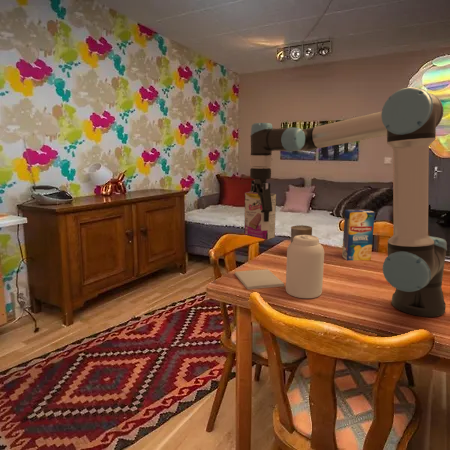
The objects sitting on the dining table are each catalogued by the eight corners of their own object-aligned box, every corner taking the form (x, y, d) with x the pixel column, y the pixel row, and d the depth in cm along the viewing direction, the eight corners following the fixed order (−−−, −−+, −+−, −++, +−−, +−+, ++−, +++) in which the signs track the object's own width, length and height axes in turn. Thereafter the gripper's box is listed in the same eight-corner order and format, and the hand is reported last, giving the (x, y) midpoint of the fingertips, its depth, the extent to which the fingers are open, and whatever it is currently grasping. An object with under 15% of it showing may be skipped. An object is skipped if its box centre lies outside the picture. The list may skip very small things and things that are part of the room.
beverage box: (371, 260, 167) (375, 212, 162) (346, 260, 166) (350, 212, 162) (365, 256, 173) (368, 209, 169) (341, 256, 173) (344, 209, 169)
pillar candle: (314, 254, 175) (315, 223, 172) (306, 259, 167) (308, 227, 164) (294, 252, 180) (295, 221, 178) (286, 256, 172) (287, 225, 169)
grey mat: (284, 286, 135) (284, 283, 135) (247, 289, 132) (247, 286, 132) (267, 271, 151) (267, 269, 151) (234, 274, 148) (234, 271, 148)
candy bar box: (243, 235, 140) (244, 192, 137) (251, 233, 144) (252, 191, 140) (267, 240, 133) (268, 194, 129) (275, 237, 136) (276, 193, 133)
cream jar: (283, 285, 136) (285, 232, 132) (317, 286, 135) (320, 232, 131) (287, 299, 123) (290, 241, 119) (325, 299, 123) (329, 241, 119)
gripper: (283, 169, 123) (281, 233, 127) (259, 165, 145) (258, 220, 150) (262, 169, 121) (260, 234, 125) (241, 166, 143) (240, 221, 148)
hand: (259, 226), depth 137 cm, fingers closed on candy bar box, 12 cm apart
